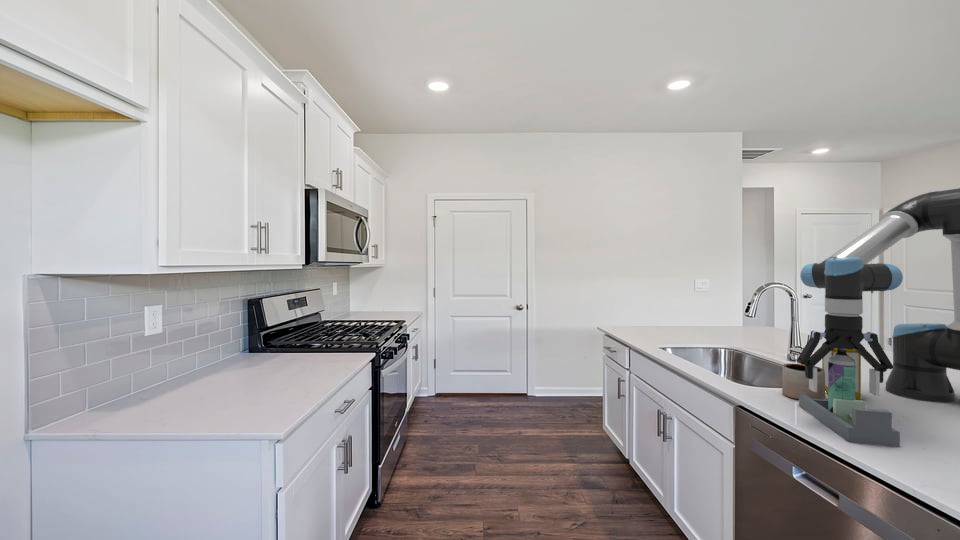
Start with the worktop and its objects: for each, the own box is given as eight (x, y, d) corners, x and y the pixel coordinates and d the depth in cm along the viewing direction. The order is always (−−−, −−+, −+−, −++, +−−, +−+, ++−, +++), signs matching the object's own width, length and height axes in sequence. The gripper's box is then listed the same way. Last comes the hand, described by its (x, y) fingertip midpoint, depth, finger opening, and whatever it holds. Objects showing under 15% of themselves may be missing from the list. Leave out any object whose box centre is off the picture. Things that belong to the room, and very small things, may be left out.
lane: (838, 408, 118) (838, 381, 118) (899, 446, 94) (899, 413, 94) (799, 405, 121) (799, 379, 121) (848, 441, 97) (848, 409, 97)
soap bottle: (839, 403, 123) (839, 327, 122) (822, 390, 134) (822, 321, 134) (869, 405, 120) (870, 328, 119) (849, 392, 132) (849, 322, 131)
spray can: (844, 418, 111) (844, 347, 110) (861, 427, 105) (861, 352, 105) (823, 418, 111) (823, 347, 111) (839, 426, 106) (839, 352, 105)
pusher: (862, 426, 105) (862, 400, 105) (875, 435, 100) (875, 407, 100) (833, 424, 107) (833, 398, 106) (844, 432, 102) (844, 405, 101)
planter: (815, 393, 132) (815, 364, 132) (832, 404, 122) (832, 373, 122) (776, 390, 136) (776, 362, 135) (790, 400, 125) (790, 370, 125)
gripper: (891, 313, 107) (891, 391, 107) (782, 311, 114) (782, 384, 115) (912, 317, 100) (912, 400, 100) (794, 315, 107) (795, 393, 107)
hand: (843, 392), depth 107 cm, fingers open, 13 cm apart
